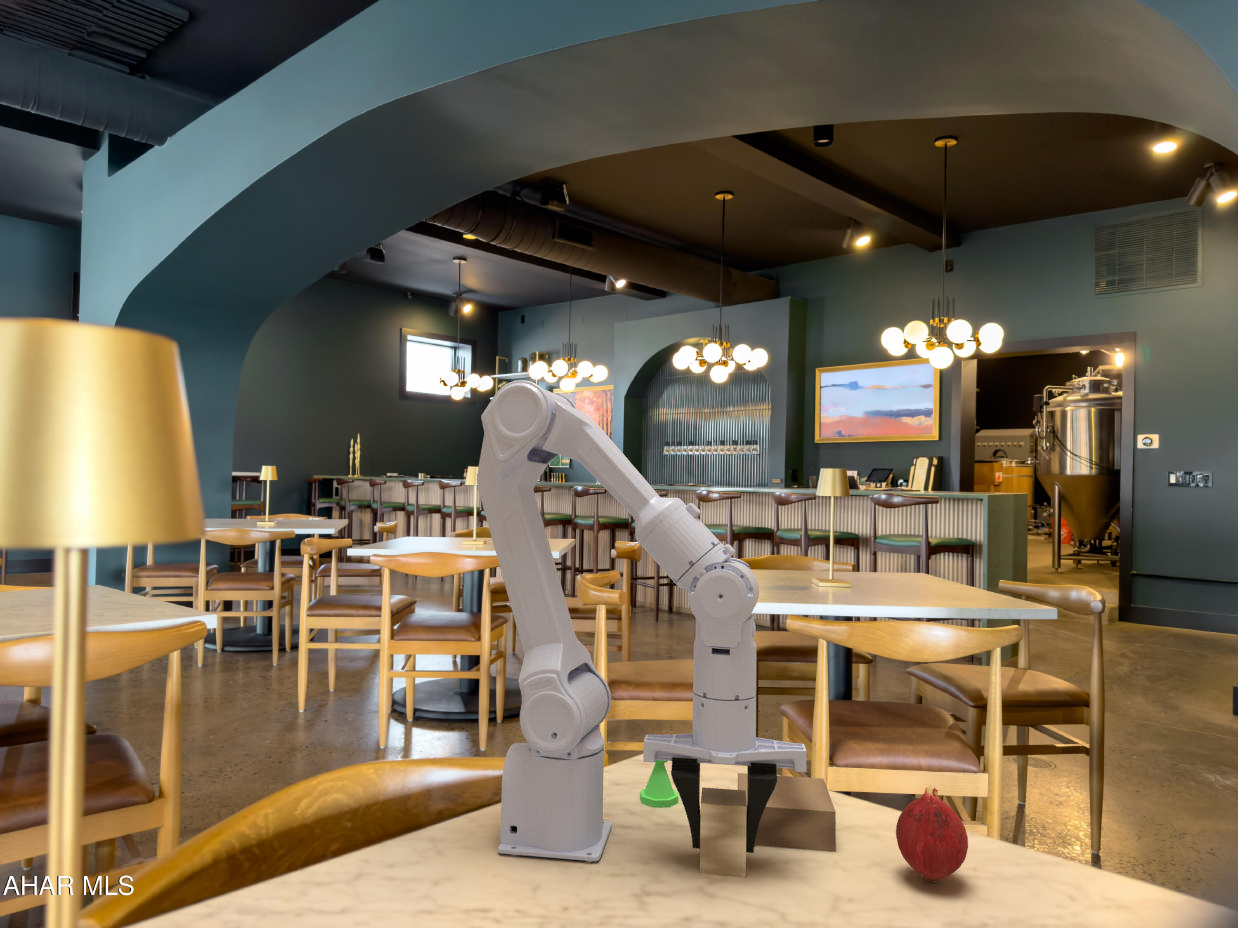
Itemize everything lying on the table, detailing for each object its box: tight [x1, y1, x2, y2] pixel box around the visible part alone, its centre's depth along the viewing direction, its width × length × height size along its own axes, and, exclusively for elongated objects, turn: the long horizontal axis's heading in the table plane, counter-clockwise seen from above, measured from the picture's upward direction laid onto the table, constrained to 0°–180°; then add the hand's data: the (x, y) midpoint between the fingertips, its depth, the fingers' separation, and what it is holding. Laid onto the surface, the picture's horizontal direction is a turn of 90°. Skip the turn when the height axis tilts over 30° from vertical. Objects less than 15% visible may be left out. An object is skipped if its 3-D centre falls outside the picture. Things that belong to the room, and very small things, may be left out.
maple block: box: [699, 786, 747, 878], centre depth 69 cm, size 4×4×6 cm
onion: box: [895, 785, 969, 883], centre depth 66 cm, size 6×6×8 cm
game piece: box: [639, 760, 679, 809], centre depth 83 cm, size 4×4×6 cm
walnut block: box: [737, 772, 837, 853], centre depth 77 cm, size 9×9×4 cm
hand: (722, 845), depth 69 cm, fingers open, 4 cm apart
